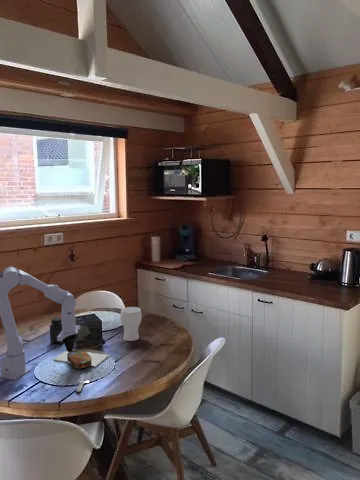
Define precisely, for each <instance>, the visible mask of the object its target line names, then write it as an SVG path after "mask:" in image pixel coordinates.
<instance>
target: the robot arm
mask: <svg viewBox="0 0 360 480" xmlns="http://www.w3.org/2000/svg"><path fill="white" fill-rule="evenodd" d="M18 284H19V286H25V285H27V286H28V285H29V286H30V287H32V288H34V289H37V290H39V291H41V292H43V294H44V297H45V298H48V299H50V301H51V300H52V301H53V302H55V303H57V304H60V305H61V319H62V322H61V323H62V332H61V333H60V334H59V336H57V341H63V344H64V347H65V351H67V352H72V351H73V350H74V346H75V342H76V339H77V338H78V333H79V331H81V325H78V324H77V323H76V305H77V300H76V298H75V296H74V295H73V294H72V293H71V292H70V291H68V290H64V289H62V288H60V287H59V285H57V284H56V283H55V284H46V283H45V282H43V281H41V280H39V279H37V278H36V277H34V276H33V275H31V274H29V273H27V272H25V271H24V270H21V269H17V268H16V267H15V266H7V267H5V268H4V270H3V271H2V272H1V273H0V319H1V323H2V326H3V329H4V333H5V338H6V340H5V341H6V342H5V343H6V351H5V355H4V357H3V358H2V359H1V360H0V378H3V379H9V380H12V381H16V380H17V379H19V378H21V377H22V376H24V375H25V374H27V373H29V372H30V371H31V369H30V368H26V353H25V349H24V348H25V347H24V343H23V337H22V336H21V334H20V333H19V331H18V328H17V325H16V321H15V318H14V314H13V311H12V306H11V303H10V299H9V296H8V294H9V293H10V291H12V289H13V288H15V287H16V286H18Z"/></svg>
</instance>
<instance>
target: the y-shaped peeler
mask: <svg viewBox="0 0 360 480" xmlns="http://www.w3.org/2000/svg"><path fill="white" fill-rule="evenodd" d="M90 381H91V380H90ZM90 381H89V380H87V381H80V383H79V384H78V386H77V387H76V390H75V394H76V395H79V394H81V393H82V391H83V389H84V385H86V384H85V383H87V384H88V385H89V384H90ZM76 383H78V382H77V381H76V382H75V384H76Z"/></svg>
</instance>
